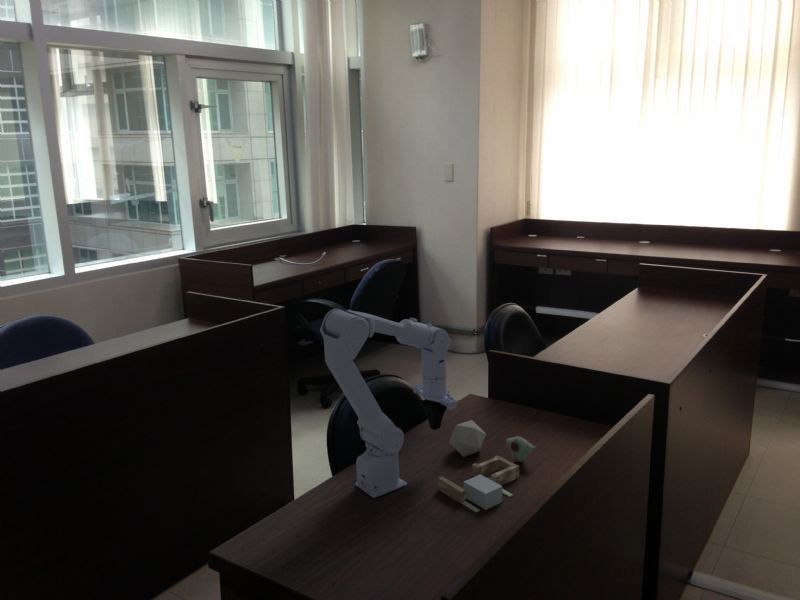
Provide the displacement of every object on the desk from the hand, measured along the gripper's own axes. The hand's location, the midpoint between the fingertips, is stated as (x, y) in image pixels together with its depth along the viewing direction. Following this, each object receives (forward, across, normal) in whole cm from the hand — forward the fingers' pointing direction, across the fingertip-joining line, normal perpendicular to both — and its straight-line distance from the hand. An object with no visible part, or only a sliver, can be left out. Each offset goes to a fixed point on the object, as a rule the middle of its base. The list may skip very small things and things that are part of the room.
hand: (435, 428), depth 166 cm
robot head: (+10, -12, -16) cm, 22 cm away
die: (+10, 0, -10) cm, 14 cm away
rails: (+9, -21, +2) cm, 23 cm away
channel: (+9, -14, -2) cm, 17 cm away
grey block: (+10, -20, +2) cm, 22 cm away
